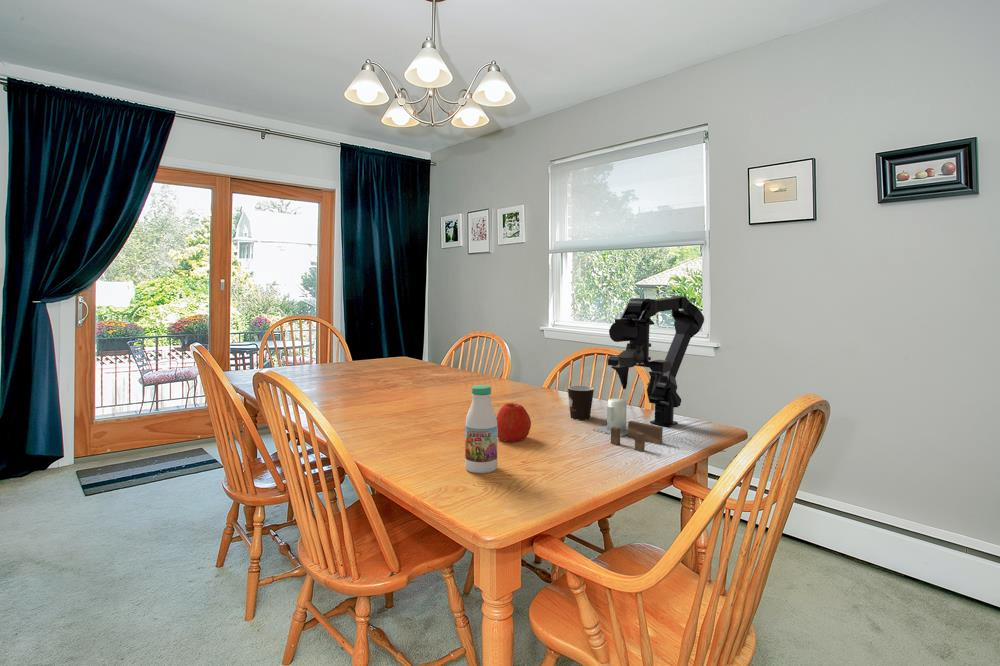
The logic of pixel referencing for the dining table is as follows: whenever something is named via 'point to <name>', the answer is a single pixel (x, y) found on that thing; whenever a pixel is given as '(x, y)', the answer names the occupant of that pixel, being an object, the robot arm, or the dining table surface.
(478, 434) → the milk bottle
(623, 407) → the cylinder with square knob
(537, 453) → the dining table surface
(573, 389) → the coffee mug
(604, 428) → the slate mat
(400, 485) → the dining table surface
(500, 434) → the apple
